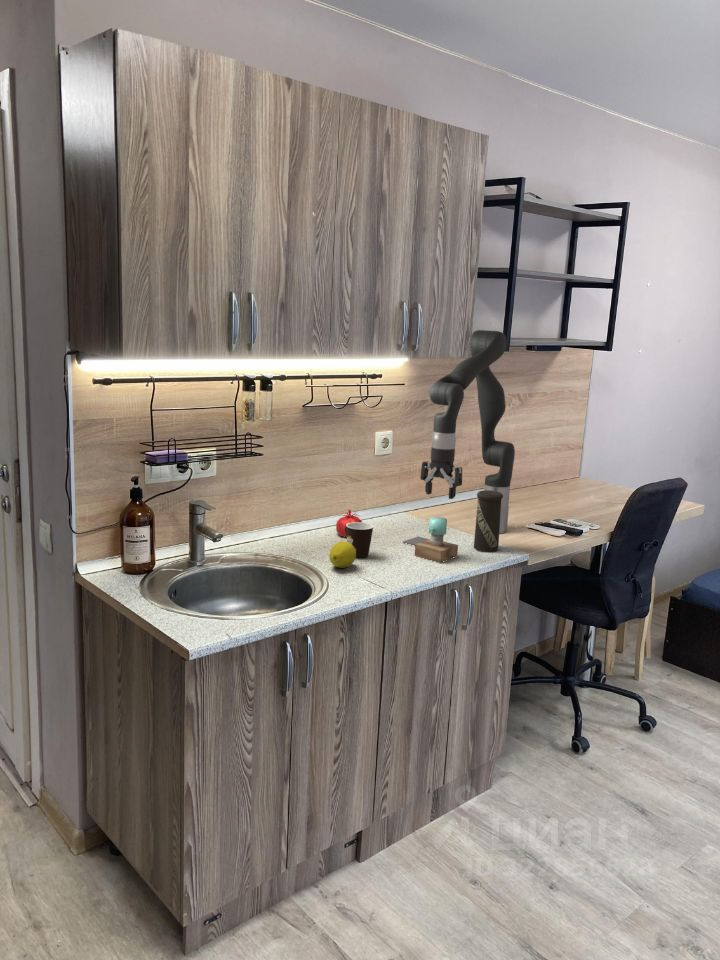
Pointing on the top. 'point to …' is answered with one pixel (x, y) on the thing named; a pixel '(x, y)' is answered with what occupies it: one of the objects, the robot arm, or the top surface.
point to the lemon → (342, 554)
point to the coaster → (415, 540)
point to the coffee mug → (359, 537)
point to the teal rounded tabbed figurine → (437, 526)
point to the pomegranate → (344, 521)
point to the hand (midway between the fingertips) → (439, 496)
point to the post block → (436, 549)
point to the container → (488, 521)
